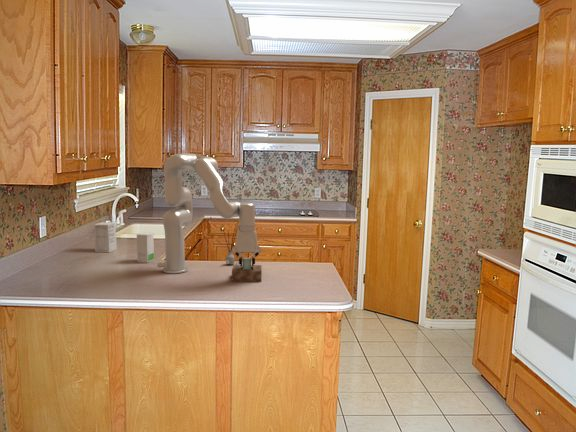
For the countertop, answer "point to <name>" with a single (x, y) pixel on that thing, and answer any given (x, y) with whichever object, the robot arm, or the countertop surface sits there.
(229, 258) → the reed diffuser
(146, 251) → the skincare box
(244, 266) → the peg
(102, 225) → the supplement box
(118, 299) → the countertop surface
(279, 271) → the countertop surface
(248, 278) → the socket block
